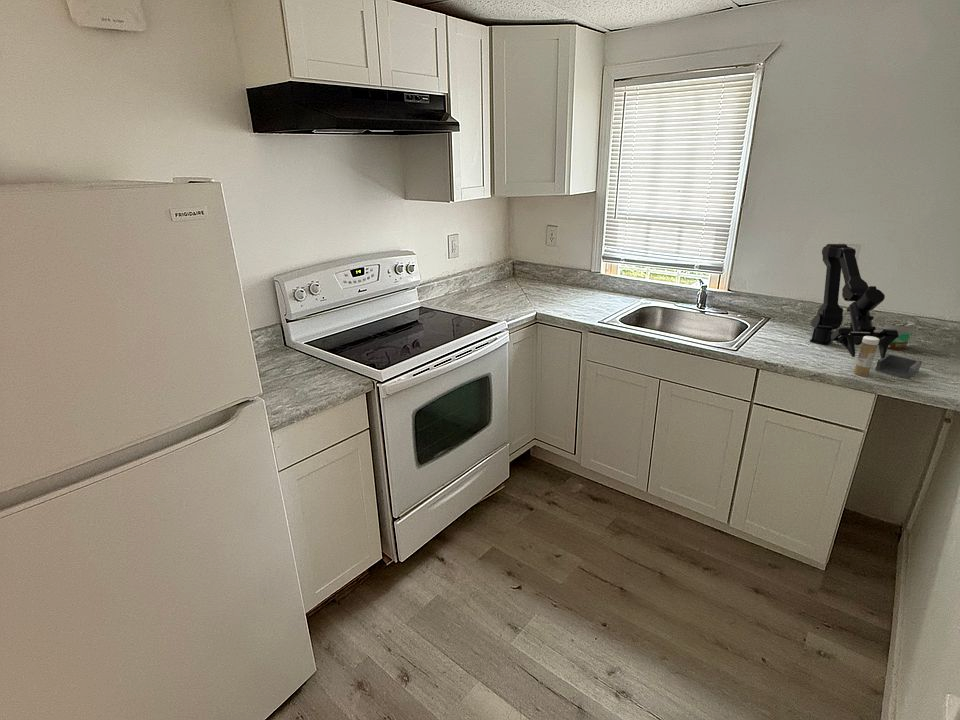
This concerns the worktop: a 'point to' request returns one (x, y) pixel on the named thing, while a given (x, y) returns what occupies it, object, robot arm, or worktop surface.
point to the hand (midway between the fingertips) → (868, 357)
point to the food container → (901, 334)
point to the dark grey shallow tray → (898, 366)
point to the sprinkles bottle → (866, 355)
